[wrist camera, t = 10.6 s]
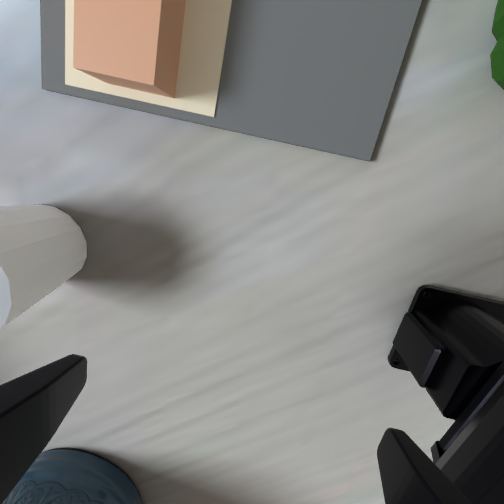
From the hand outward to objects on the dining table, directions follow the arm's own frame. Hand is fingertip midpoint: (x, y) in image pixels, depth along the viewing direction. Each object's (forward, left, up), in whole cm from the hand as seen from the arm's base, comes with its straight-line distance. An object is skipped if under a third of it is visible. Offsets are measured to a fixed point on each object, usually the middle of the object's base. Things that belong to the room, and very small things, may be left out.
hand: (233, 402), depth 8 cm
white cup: (+15, +2, -12) cm, 19 cm away
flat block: (+9, -13, -12) cm, 20 cm away
